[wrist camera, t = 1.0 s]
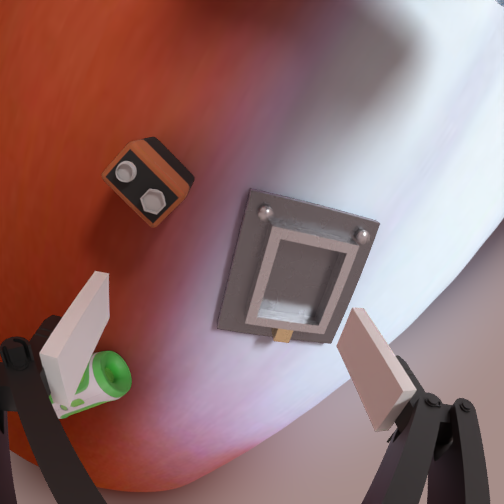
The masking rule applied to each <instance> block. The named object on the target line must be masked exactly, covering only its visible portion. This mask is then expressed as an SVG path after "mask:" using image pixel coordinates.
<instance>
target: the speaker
mask: <svg viewBox="0 0 504 504" xmlns="http://www.w3.org/2000/svg"><path fill="white" fill-rule="evenodd" d="M131 384H132V378H131V373H130V370H129V368H128V366H127V364H126V362H125V361H124V360H123V358H122V357H121V356H120V355H118V354H117V353H115V352H113V351H101V352H97V353H94V354H92V356H91V358H90V360H89V363H88V365H87V367H86V369H85V372H84V374H83V376H82V379H81V381H80V383H79V386H78V388H77V390H76V393H75V395H74V398H73V400H72V403H71V405H70V407H67V406H64V405H60V404H57V403H54V402H53V400H52V397H51V394H50V396H49V399H50V401H51V403H52V406H53V408H54V410H55V412H56V415H57V417H58V419H62V418H66V417H68V416H70V415H73V414H75V413H78V412H81V411H84V410H87V409H90V408H92V407H95V406H98V405H100V404H103V403H106V402H109V401H114V400H117V399H119V398H120V397H122V396H123V395H124V394H126V393H127V392H128V391H129V390H130V388H131Z"/></svg>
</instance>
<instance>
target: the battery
mask: <svg viewBox="0 0 504 504" xmlns="http://www.w3.org/2000/svg"><path fill="white" fill-rule="evenodd" d="M102 179H103V180H104V181H105V182H106V184H107V185H108V186H109V187H110V188H111V189H112V190H113V191H114V192H115V193H116V194H117V195H118V196H119V197H120V198H121V199H122V200H123V201H124V202H125V203H126V204H127V205H129V206H130V207H131V208H132V209H133V210H134V211H135V212H136V213H137V214H138V215H139V216H140V217H141V218H142V219H143V220H144V221H145V222H146V223H147V224H148V225H149V226H150V227H153V228H154V227H157V226H158V225H159V224H160V223H161V222H162V221H163V220H164V219H165V218H166V217H167V216H168V215H169V214H170V213H171V212H172V211H173V210H174V209H175V208H176V207H177V206H178V205H179V204H180V203H181V202H182V201H183V200H184V199H185V198H186V196H187V194H188V192H189V190H190V188H191V186H192V184H193V182H194V176H193V175H192V174H191V173H190V171H189V170H188V169H187V168H186V167H185V166H184V165H183V164H182V163H181V162H180V161H179V160H178V159H177V158H176V157H175V156H174V155H173V154H172V153H171V152H170V151H169V150H168V149H167V148H166V147H165V146H164V145H163V144H162V143H161V142H160V141H159V140H158V139H157V138H155V137H149V138H145V139H140V140H136V141H131V142H129V143H128V144H127V145H126V146H125V147H124V149H123V150H122V151H121V152H120V153H119V154H118V155H117V156H116V158H115V159H114V160H113V161H112V162H111V163H110V164H109V166H108V167H107V168H106V169H105V170H104V171H103V173H102Z"/></svg>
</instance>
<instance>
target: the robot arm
mask: <svg viewBox="0 0 504 504" xmlns="http://www.w3.org/2000/svg"><path fill="white" fill-rule="evenodd" d="M495 1H496V2H498V3H499V4H500V5H501V6H503V7H504V0H495ZM109 318H110V315H109V273H104V272H98V271H95V272H94V273H93V275H92V276H91V277H90V279H89V280H88V282H87V283H86V284H85V286H84V287H83V288H82V290H81V291H80V293H79V294H78V295H77V297H76V298H75V300H74V301H73V303H72V304H71V305H70V307H69V308H68V310H67V311H66V313H65V314H64V316H63V317H59V316H55V315H52V316H50V317H49V318H47V319H45V320H44V321H43V323H42V324H41V326H40V327H39V329H38V330H37V331H36V333H35V334H34V335H33V337H32V338H31V340H30V341H28V340H26V339H25V338H22V337H11V338H8V339H6V340H5V341H4V342H2V344H1V346H0V354H1V357H2V360H3V362H0V504H17V501H16V495H15V490H14V484H13V477H12V469H11V461H10V451H9V440H8V422H7V411H17V412H18V414H19V417H20V420H21V423H22V425H23V428H24V431H25V433H26V436H27V439H28V441H29V444H30V446H31V449H32V451H33V453H34V456H35V458H36V460H37V463H38V465H39V467H40V469H41V472H42V474H43V475H44V478H45V480H46V482H47V484H48V486H49V488H50V490H51V492H52V494H53V496H54V498H55V500H56V501H57V503H58V504H107V503H106V501H105V500H104V499H103V497H102V495H101V494H100V493H99V491H98V489H97V488H96V486H95V485H94V483H93V481H92V480H91V478H90V477H89V475H88V473H87V472H86V470H85V468H84V467H83V465H82V463H81V461H80V460H79V458H78V456H77V454H76V452H75V451H74V449H73V447H72V445H71V443H70V441H69V439H68V437H67V435H66V433H65V431H64V429H63V427H62V425H61V423H60V421H59V419H58V417H57V415H56V412H55V410H54V408H53V406H52V403H51V401H50V399H49V396H50V394H51V397H52V400H53V402H54V403H57V404H60V405H64V406H67V407H70V405H71V403H72V400H73V398H74V395H75V393H76V390H77V388H78V386H79V383H80V381H81V379H82V376H83V374H84V372H85V369H86V367H87V365H88V363H89V360H90V358H91V356H92V354H93V352H94V349H95V347H96V345H97V343H98V341H99V339H100V337H101V334H102V332H103V330H104V328H105V326H106V324H107V322H108V320H109ZM337 348H338V350H339V352H340V355H341V357H342V359H343V361H344V363H345V365H346V368H347V370H348V372H349V374H350V376H351V378H352V381H353V383H354V385H355V387H356V389H357V392H358V394H359V396H360V398H361V401H362V403H363V405H364V407H365V409H366V412H367V414H368V416H369V419H370V421H371V423H372V426H373V428H374V430H375V432H379V431H386V430H389V429H390V428H391V426H392V425H393V424H394V422H395V423H396V425H397V427H398V428H397V429H396V430H395V432H394V433H393V434H392V436H391V437H390V438H389V439H388V441H387V442H388V443H389V441H390V440H391V441H390V444H389V446H388V449H387V451H386V453H385V455H384V458H383V460H382V462H381V465H380V467H379V469H378V471H377V473H376V475H375V478H374V480H373V482H372V484H371V486H370V488H369V490H368V492H367V494H366V496H365V498H364V500H363V502H362V504H418V503H419V501H420V498H421V495H422V492H423V488H424V485H425V482H426V478H427V475H428V497H427V504H490V496H489V485H488V477H487V469H486V462H485V456H484V450H483V444H482V439H481V433H480V428H479V424H478V419H477V415H476V410H475V407H474V406H473V404H472V403H471V402H470V401H468V400H466V399H464V398H459V399H457V400H456V401H455V403H454V404H453V405H447V404H442V402H441V400H440V399H439V398H438V397H437V396H435V395H434V394H431V393H426V392H425V391H424V389H423V388H422V386H421V385H420V383H419V382H418V380H417V379H416V377H415V375H414V374H413V372H412V371H411V370H410V368H409V366H408V365H407V363H406V362H405V361H404V360H403V359H402V358H401V357H400V356H395V355H394V353H393V352H392V350H391V349H390V347H389V345H388V344H387V342H386V341H385V339H384V338H383V336H382V335H381V333H380V332H379V330H378V329H377V327H376V326H375V324H374V323H373V321H372V320H371V318H370V317H369V315H368V314H367V312H366V311H365V309H363V308H353V307H352V309H351V312H350V315H349V317H348V320H347V322H346V324H345V327H344V329H343V332H342V334H341V337H340V339H339V341H338V344H337Z"/></svg>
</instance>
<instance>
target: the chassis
mask: <svg viewBox="0 0 504 504" xmlns="http://www.w3.org/2000/svg"><path fill="white" fill-rule="evenodd" d="M379 225H380V223H379V222H378V221H376V220H373V219H369V218H366V217H362V216H359V215H355V214H352V213H348V212H344V211H340V210H337V209H333V208H329V207H325V206H322V205H318V204H314V203H310V202H306V201H302V200H298V199H294V198H290V197H286V196H282V195H277V194H273V193H269V192H265V191H260V190H256V189H252V188H250V192H249V196H248V200H247V204H246V208H245V212H244V216H243V220H242V224H241V228H240V232H239V236H238V240H237V244H236V248H235V252H234V256H233V260H232V264H231V268H230V273H229V277H228V281H227V285H226V289H225V293H224V297H223V302H222V306H221V310H220V314H219V318H218V323H217V329H224V330H230V331H236V332H243V333H249V334H256V335H263V336H271V337H273V340H274V341H278V342H286V343H289V341H290V339H294V340H303V341H311V342H321V343H330V344H331V343H332V340H333V338H334V336H335V334H336V332H337V330H338V327H339V325H340V323H341V321H342V318H343V316H344V314H345V311H346V309H347V307H348V304H349V302H350V300H351V297H352V295H353V293H354V290H355V288H356V285H357V283H358V280H359V278H360V275H361V273H362V270H363V268H364V265H365V263H366V260H367V258H368V255H369V252H370V250H371V247H372V244H373V242H374V239H375V236H376V233H377V231H378V228H379Z"/></svg>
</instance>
